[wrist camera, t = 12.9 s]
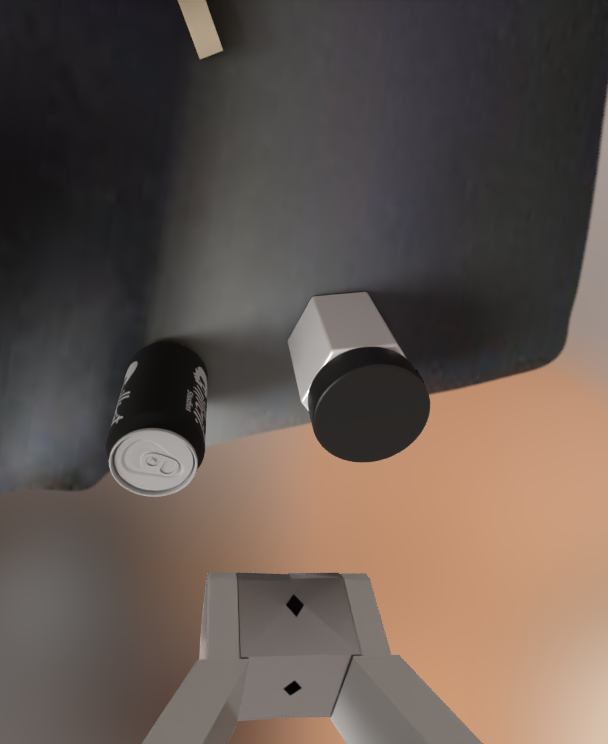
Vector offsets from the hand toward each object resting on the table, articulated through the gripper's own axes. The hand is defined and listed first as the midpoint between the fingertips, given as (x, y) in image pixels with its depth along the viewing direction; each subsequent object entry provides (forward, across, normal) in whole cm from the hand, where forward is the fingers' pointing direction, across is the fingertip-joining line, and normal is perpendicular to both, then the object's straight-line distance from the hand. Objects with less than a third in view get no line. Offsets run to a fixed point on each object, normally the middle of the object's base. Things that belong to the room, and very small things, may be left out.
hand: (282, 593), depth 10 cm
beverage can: (+34, +4, +16) cm, 38 cm away
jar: (+34, -10, +11) cm, 37 cm away
